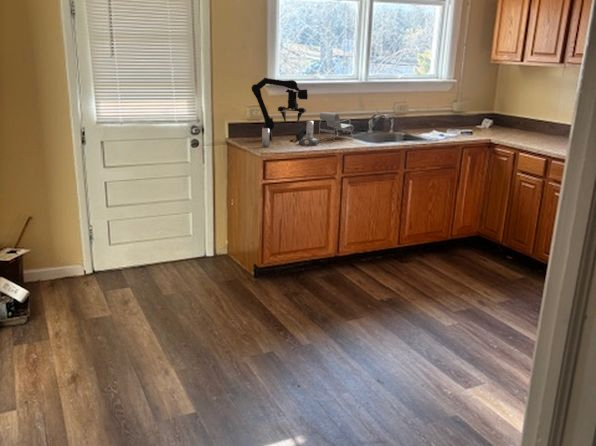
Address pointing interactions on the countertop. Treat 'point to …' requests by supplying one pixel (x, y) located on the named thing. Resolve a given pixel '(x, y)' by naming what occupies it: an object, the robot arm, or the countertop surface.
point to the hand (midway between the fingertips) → (291, 122)
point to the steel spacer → (309, 129)
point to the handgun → (301, 132)
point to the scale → (309, 142)
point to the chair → (334, 123)
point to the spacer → (265, 137)
